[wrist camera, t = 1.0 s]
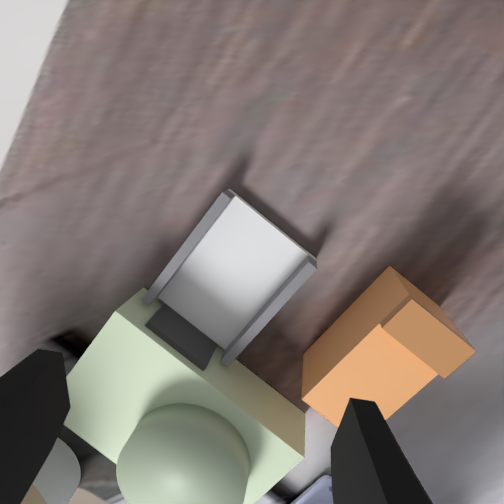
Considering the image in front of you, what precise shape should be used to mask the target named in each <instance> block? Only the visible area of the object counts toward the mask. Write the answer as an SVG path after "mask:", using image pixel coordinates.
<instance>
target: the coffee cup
mask: <svg viewBox="0 0 504 504" xmlns="http://www.w3.org/2000/svg"><path fill="white" fill-rule="evenodd" d="M80 478H81V470H80V465H79V462H78V459H77V457H76V456H75V454H74V452H73V451H72V450H71V448H70V447H69V446H68V445H67V444H66V443H65V442H63V441H62V440H61V439H59V438H57V440H56V442H55V444H54V446H53V448H52V450H51V452H50V454H49V456H48V457H47V459H46V461H45V463H44V464H43V466H42V468H41V469H40V471H39V473H38V475H37V476H36V478H35V480H34V482H33V483H32V485H31V487H30V488H29V490H28V492H27V494H26V495H25V497H24V499H23V500H22V502H21V504H68V502H69V501H70V499H71V497H72V496H73V494H74V492H75V491H76V489H77V487H78V485H79V483H80Z"/></svg>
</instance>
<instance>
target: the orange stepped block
mask: <svg viewBox="0 0 504 504" xmlns="http://www.w3.org/2000/svg"><path fill="white" fill-rule="evenodd" d="M475 352H476V350H475V349H474V348H473V347H472V345H471V344H470V343H469V342H468V341H467V339H466V338H465V337H464V336H463V334H462V333H461V332H460V331H459V329H458V328H457V327H456V326H455V325H454V323H453V322H452V321H451V320H450V318H449V317H448V316H447V315H446V314H445V312H444V311H443V310H442V309H441V307H440V306H438V305H437V304H436V303H435V302H434V301H432V300H431V299H430V298H429V297H427V296H426V295H425V294H424V293H423V292H421V291H420V290H419V289H418V288H416V287H415V286H414V285H413V284H412V283H410V282H409V281H408V280H407V279H405V278H404V277H403V276H402V275H401V274H399V273H398V272H397V271H396V270H394V269H393V268H392V267H391V266H388V267H387V269H386V270H385V271H384V272H383V273H382V274H381V275H380V276H379V277H378V278H377V279H376V280H375V281H374V282H373V283H372V284H371V285H370V286H369V287H368V288H367V289H366V290H365V291H364V292H363V293H362V294H361V295H360V296H359V297H358V298H357V299H356V300H355V301H354V302H353V303H352V304H351V306H350V307H349V308H348V309H347V310H346V311H345V312H344V313H343V314H342V315H341V316H340V317H339V318H338V319H337V320H336V321H335V322H334V323H333V324H332V325H331V326H330V327H329V328H328V329H327V330H326V331H325V332H324V333H323V334H322V335H321V336H320V337H319V338H318V339H317V340H316V341H315V342H314V344H313V345H312V346H311V347H310V348H309V349H308V350H307V351H306V352H305V353H304V354H303V376H302V400H303V401H304V402H306V403H307V404H308V405H309V406H311V407H312V408H313V409H315V410H316V411H317V412H318V413H320V414H321V415H322V416H324V417H325V418H326V419H327V420H329V421H330V422H331V423H332V424H334V425H335V426H336V427H339V425H340V422H341V420H342V417H343V415H344V412H345V409H346V407H347V404H348V402H349V399H350V398H356V399H363V400H369V401H375V403H376V404H377V405H378V407H379V409H380V411H381V413H382V415H383V417H384V419H385V420H386V419H388V418H389V417H390V416H391V415H392V414H393V413H394V412H396V411H397V410H398V409H399V408H400V407H401V406H402V405H404V404H405V403H406V402H407V401H408V400H409V399H410V398H412V397H413V396H414V395H415V394H416V393H417V392H418V391H420V390H421V389H422V388H423V387H424V386H425V385H427V384H428V383H429V382H430V381H431V380H432V379H433V378H435V377H436V376H437V375H438V374H439V375H440V376H442V377H443V378H444V379H445V378H446V377H447V376H448V375H450V374H451V373H452V372H453V371H454V370H455V369H457V368H458V367H459V366H460V365H461V364H462V363H464V362H465V361H466V360H467V359H468V358H469V357H471V356H472V355H473V354H474V353H475Z"/></svg>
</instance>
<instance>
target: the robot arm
mask: <svg viewBox="0 0 504 504" xmlns="http://www.w3.org/2000/svg"><path fill="white" fill-rule="evenodd" d="M70 408H71V406H70V399H69V393H68V386H67V380H66V373H65V367H64V360H63V354H62V353H61V352H54V351H48V350H41V349H38V350H36V351H35V352H33V353H32V354H31V355H29V356H28V357H26V358H25V359H24V360H22V361H21V362H20V363H18V364H17V365H16V366H15V367H13V368H12V369H11V370H9V371H8V372H7V373H5V374H4V375H3V376H1V377H0V504H21V502H22V500H23V499H24V497H25V495H26V494H27V492H28V490H29V488H30V487H31V485H32V483H33V482H34V480H35V478H36V476H37V475H38V473H39V471H40V469H41V468H42V466H43V464H44V463H45V461H46V459H47V457H48V456H49V454H50V452H51V450H52V448H53V446H54V444H55V442H56V440H57V438H58V435H59V433H60V431H61V429H62V426H63V424H64V422H65V419H66V417H67V415H68V412H69V410H70ZM331 486H332V488H331ZM291 504H433V503H432V501H431V500H430V498H429V496H428V495H427V493H426V491H425V490H424V488H423V486H422V485H421V483H420V481H419V480H418V478H417V476H416V475H415V473H414V471H413V470H412V468H411V466H410V464H409V463H408V461H407V459H406V457H405V455H404V454H403V452H402V450H401V448H400V446H399V445H398V443H397V441H396V439H395V437H394V436H393V434H392V432H391V430H390V428H389V426H388V424H387V422H386V421H385V419H384V417H383V415H382V413H381V411H380V409H379V407H378V405H377V404H376V403H375V401H369V400H363V399H356V398H350V399H349V402H348V404H347V407H346V409H345V412H344V415H343V417H342V420H341V422H340V425H339V427H338V430H337V433H336V435H335V438H334V440H333V443H332V445H331V476H329V475H324V476H322V477H321V478H319V479H318V480H317V481H316V482H315V483H314V484H312V485H311V486H310V487H309V488H308V489H307V490H306V491H304V492H303V493H302V494H301V495H300V496H299V497H298V498H296V499H295V500H294V501H293V502H292V503H291Z"/></svg>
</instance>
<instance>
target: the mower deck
mask: <svg viewBox="0 0 504 504" xmlns="http://www.w3.org/2000/svg"><path fill="white" fill-rule="evenodd" d="M316 269H317V261H316V258H315V257H314V256H313V255H311V254H310V253H309V252H308V251H306V250H305V249H304V248H303V247H301V246H300V245H299V244H298V243H297V242H295V241H294V240H293V239H292V238H290V237H289V236H288V235H287V234H285V233H284V232H283V231H282V230H280V229H279V228H278V227H277V226H276V225H274V224H273V223H272V222H271V221H269V220H268V219H267V218H266V217H264V216H263V215H262V214H261V213H259V212H258V211H257V210H256V209H255V208H253V207H252V206H251V205H250V204H248V203H247V202H246V201H245V200H243V199H242V198H241V197H240V196H238V195H237V194H236V193H235V192H234V191H232V190H231V189H230V188H229V189H227V190H225V191H223V192H222V193H221V194H220V196H219V197H218V198H217V200H216V201H215V202H214V204H213V205H212V206H211V208H210V209H209V210H208V212H207V213H206V214H205V216H204V217H203V218H202V220H201V221H200V222H199V224H198V225H197V226H196V228H195V229H194V230H193V232H192V233H191V234H190V236H189V237H188V238H187V239H186V241H185V242H184V243H183V245H182V246H181V247H180V249H179V250H178V251H177V253H176V254H175V255H174V257H173V258H172V259H171V261H170V262H169V263H168V265H167V266H166V267H165V269H164V270H163V271H162V273H161V274H160V275H159V277H158V278H157V279H156V281H155V282H154V283H153V285H152V286H151V287H150V289H149V290H147V289H145V288H144V287H143V288H142V289H141V290H140V291H138V292H137V293H136V294H135V295H134V296H132V297H131V298H130V299H129V300H128V301H126V302H125V303H124V304H123V305H122V306H120V307H119V308H118V309H117V310H115V312H114V313H113V314H112V316H111V317H110V318H109V320H108V321H107V323H106V324H105V325H104V327H103V328H102V329H101V331H100V332H99V333H98V335H97V336H96V338H95V339H94V340H93V342H92V343H91V344H90V346H89V347H88V348H87V350H86V351H85V353H84V354H83V355H82V357H81V358H80V359H79V361H78V362H77V363H76V365H75V366H74V368H73V369H72V370H71V372H70V373H69V374H68V376H67V377H66V380H67V386H68V393H69V399H70V406H71V408H70V410H69V412H68V415H67V417H66V419H65V422H64V425H65V426H66V427H68V428H69V429H70V430H72V431H73V432H74V433H76V434H77V435H78V436H80V437H81V438H82V439H84V440H85V441H86V442H88V443H89V444H90V445H92V446H93V447H94V448H96V449H97V450H98V451H100V452H101V453H102V454H103V455H105V456H106V457H107V458H109V459H110V460H111V461H113V462H114V463H115V464H117V467H116V475H117V481H118V485H119V488H120V490H121V492H122V495H123V496H124V498H125V500H126V501H127V503H128V504H254V503H255V502H256V501H257V500H258V499H259V498H261V497H262V496H263V495H264V494H265V493H266V492H267V491H268V490H269V489H270V488H272V487H273V486H274V485H275V484H276V483H277V482H278V481H279V480H280V479H281V478H283V477H284V476H285V475H286V474H287V473H288V472H289V471H290V470H291V469H293V468H294V467H295V466H296V465H297V464H298V463H299V462H300V461H301V460H302V459H304V453H305V413H304V412H302V411H301V410H300V409H299V408H297V407H296V406H295V405H293V404H292V403H291V402H290V401H288V400H287V399H286V398H285V397H283V396H282V395H281V394H279V393H278V392H277V391H276V390H274V389H273V388H272V387H271V386H269V385H268V384H267V383H265V382H264V381H263V380H262V379H260V378H259V377H258V376H256V375H255V374H254V373H253V372H251V371H250V370H249V369H248V368H246V367H245V366H244V365H242V364H241V363H240V362H239V361H237V360H236V359H235V358H236V357H237V356H238V355H239V354H240V353H241V352H242V351H243V350H244V349H245V347H246V346H247V345H248V344H249V343H250V342H251V341H252V340H253V339H254V337H255V336H256V335H257V334H258V333H259V332H260V331H261V330H262V329H263V328H264V326H265V325H266V324H267V323H268V322H269V321H270V320H271V319H272V318H273V316H274V315H275V314H276V313H277V312H278V311H279V310H280V309H281V308H282V307H283V305H284V304H285V303H286V302H287V301H288V300H289V299H290V298H291V297H292V295H293V294H294V293H295V292H296V291H297V290H298V289H299V288H300V287H301V286H302V284H303V283H304V282H305V281H306V280H307V279H308V278H309V277H310V276H311V274H312V273H313V272H314V271H315V270H316ZM158 298H159V299H161V300H162V301H163V302H164V303H163V302H162V301H161V300H159V299H158ZM218 345H219V346H221V347H222V348H223V349H224V350H223V349H222V348H221V347H219V346H218Z"/></svg>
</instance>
